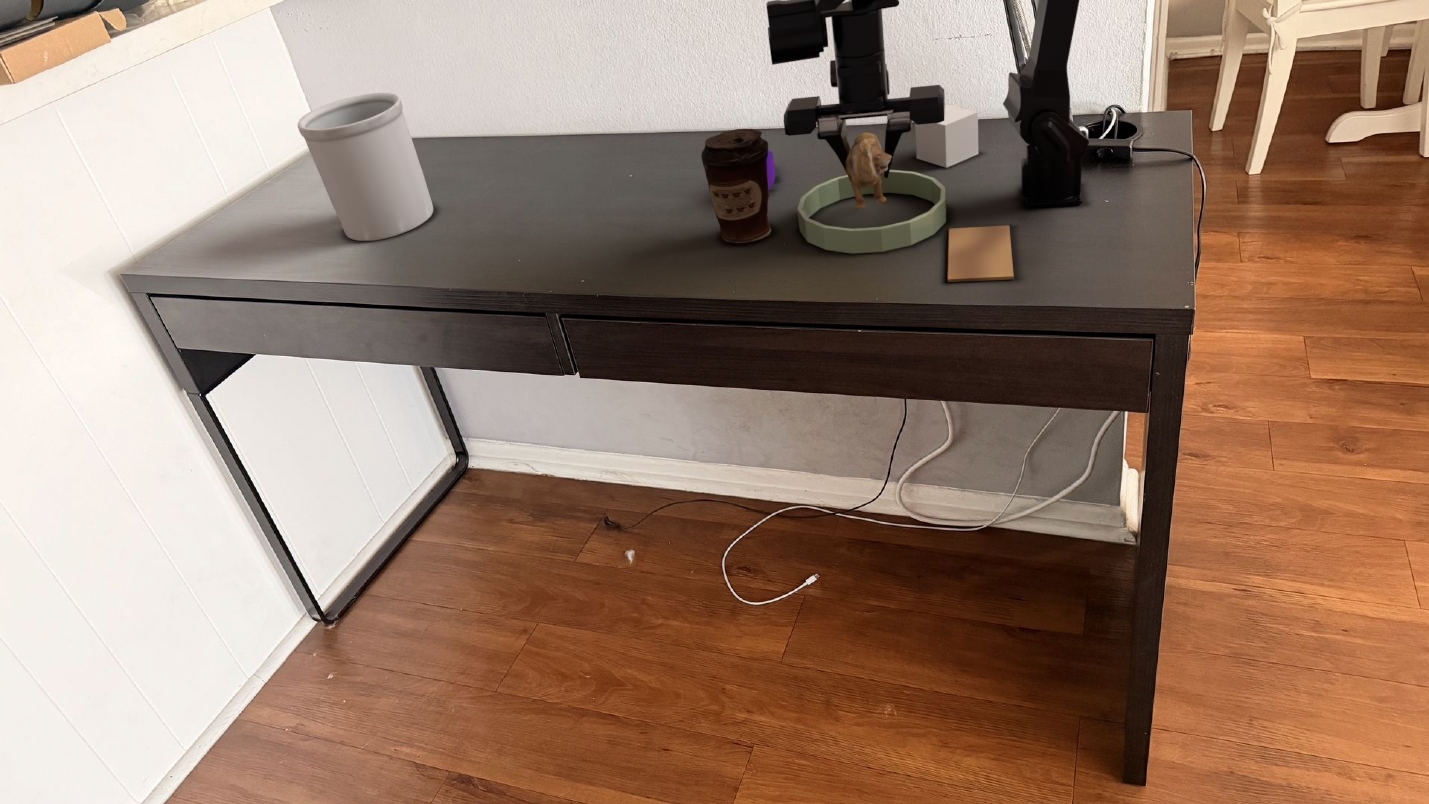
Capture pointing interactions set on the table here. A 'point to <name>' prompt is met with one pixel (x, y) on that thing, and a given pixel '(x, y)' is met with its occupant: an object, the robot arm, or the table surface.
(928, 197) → the pale green faceted ring
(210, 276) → the table surface
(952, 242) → the cork mat
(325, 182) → the utensil holder
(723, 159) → the coffee cup
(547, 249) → the table surface
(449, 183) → the table surface
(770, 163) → the crystal
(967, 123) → the white cube
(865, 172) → the lion figurine
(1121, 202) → the table surface
